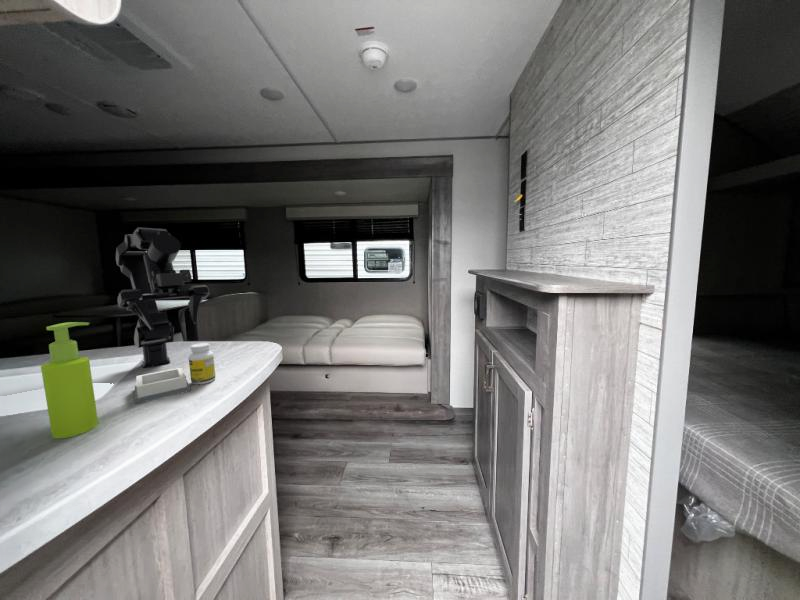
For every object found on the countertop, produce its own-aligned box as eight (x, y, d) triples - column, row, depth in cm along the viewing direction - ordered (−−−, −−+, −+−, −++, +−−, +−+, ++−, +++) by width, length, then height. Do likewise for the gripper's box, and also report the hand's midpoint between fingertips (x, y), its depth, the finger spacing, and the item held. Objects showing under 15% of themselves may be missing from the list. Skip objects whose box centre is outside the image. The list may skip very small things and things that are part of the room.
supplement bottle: (185, 384, 77) (182, 346, 76) (204, 376, 82) (201, 341, 81) (202, 386, 76) (198, 348, 75) (220, 378, 81) (217, 342, 80)
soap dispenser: (112, 419, 60) (98, 320, 57) (71, 439, 53) (54, 328, 51) (86, 418, 61) (71, 319, 58) (42, 437, 54) (23, 327, 51)
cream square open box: (135, 389, 74) (133, 375, 74) (185, 379, 81) (183, 366, 80) (135, 403, 67) (133, 388, 66) (190, 390, 73) (188, 376, 73)
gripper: (117, 257, 69) (132, 322, 66) (209, 258, 83) (223, 310, 81) (111, 277, 75) (124, 336, 73) (197, 274, 90) (210, 323, 87)
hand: (174, 326), depth 78 cm, fingers open, 9 cm apart
